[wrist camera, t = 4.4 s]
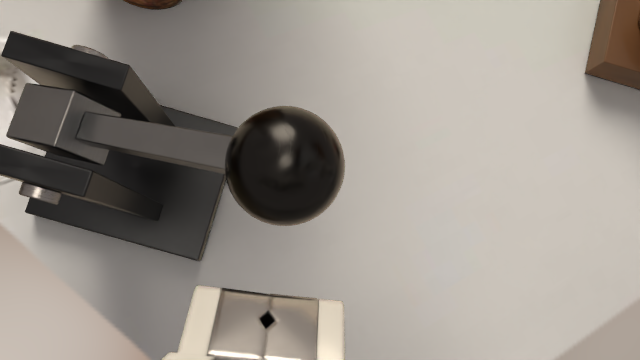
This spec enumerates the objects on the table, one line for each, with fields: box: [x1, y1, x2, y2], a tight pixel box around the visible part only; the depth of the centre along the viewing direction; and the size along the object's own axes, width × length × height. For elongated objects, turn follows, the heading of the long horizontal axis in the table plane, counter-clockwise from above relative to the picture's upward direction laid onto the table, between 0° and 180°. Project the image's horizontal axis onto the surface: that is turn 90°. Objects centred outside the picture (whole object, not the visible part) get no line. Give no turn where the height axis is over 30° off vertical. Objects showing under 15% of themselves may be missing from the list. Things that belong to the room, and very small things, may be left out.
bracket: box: [0, 31, 238, 261], centre depth 27 cm, size 10×8×14 cm
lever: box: [6, 83, 345, 226], centre depth 19 cm, size 13×4×4 cm, turn 74°
